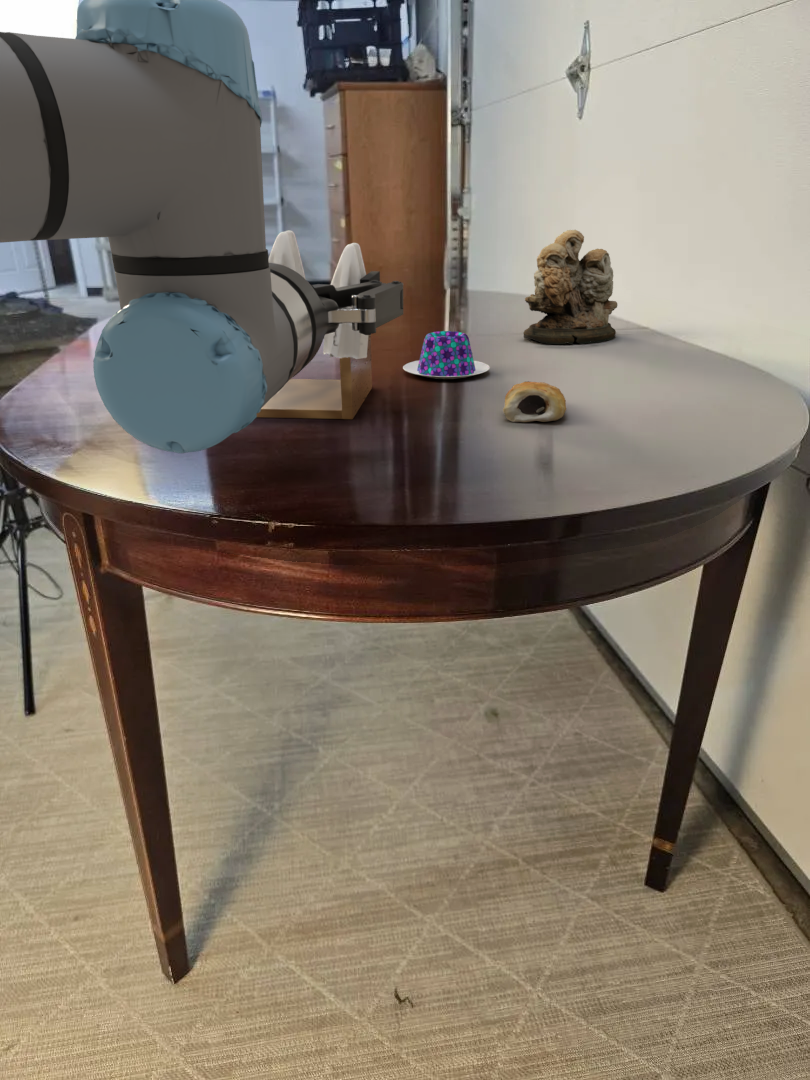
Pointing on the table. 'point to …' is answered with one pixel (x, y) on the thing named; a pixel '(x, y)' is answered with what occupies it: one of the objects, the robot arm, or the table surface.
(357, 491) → the table surface
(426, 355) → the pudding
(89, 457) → the table surface
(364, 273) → the shaker set
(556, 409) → the pastry
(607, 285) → the owl figurine
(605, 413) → the table surface
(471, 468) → the table surface
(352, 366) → the shelf
